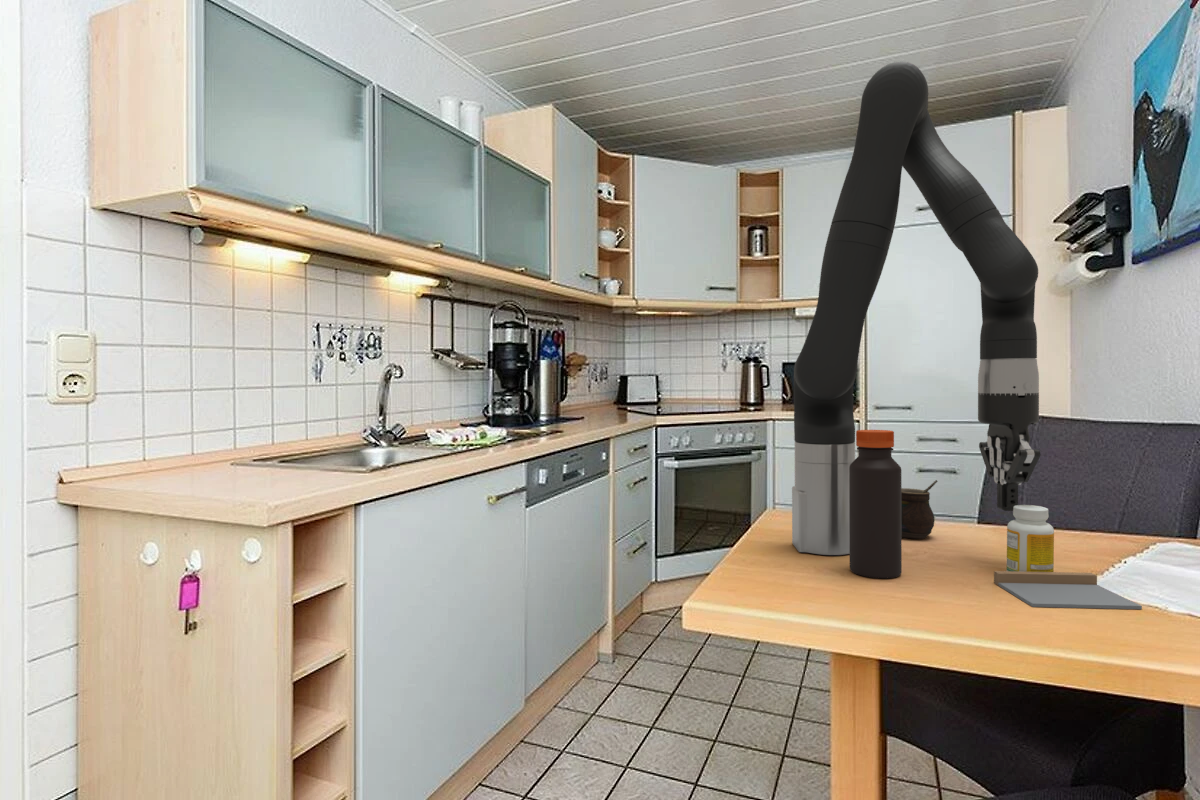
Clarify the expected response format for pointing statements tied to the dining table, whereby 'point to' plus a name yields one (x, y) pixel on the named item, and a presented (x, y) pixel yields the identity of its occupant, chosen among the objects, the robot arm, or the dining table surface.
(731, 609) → the dining table surface
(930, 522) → the mate gourd
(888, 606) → the dining table surface
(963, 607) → the dining table surface
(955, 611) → the dining table surface
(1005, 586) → the plate
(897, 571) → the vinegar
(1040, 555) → the supplement bottle
